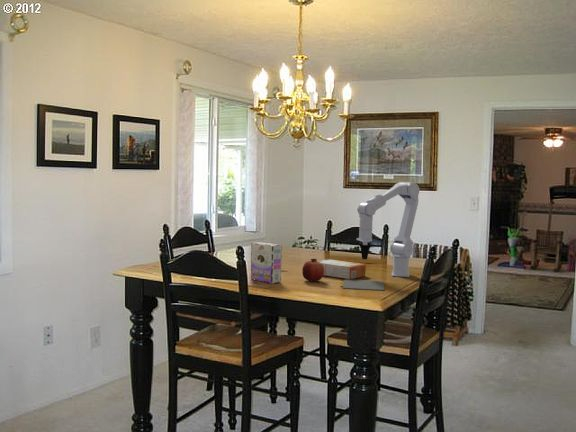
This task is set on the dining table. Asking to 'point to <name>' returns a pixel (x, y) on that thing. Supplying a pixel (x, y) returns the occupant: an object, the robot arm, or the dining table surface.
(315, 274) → the fruit
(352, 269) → the cracker box
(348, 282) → the mat
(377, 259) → the dining table surface
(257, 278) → the candy box
